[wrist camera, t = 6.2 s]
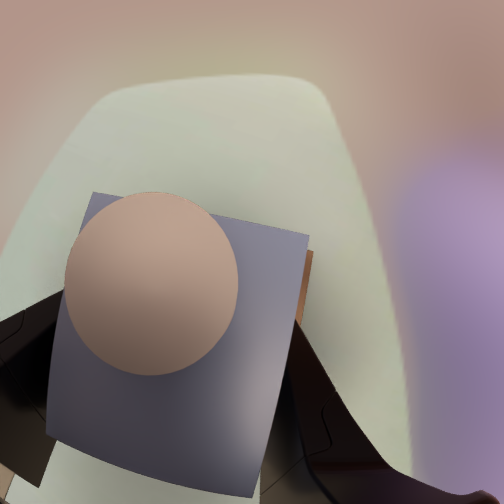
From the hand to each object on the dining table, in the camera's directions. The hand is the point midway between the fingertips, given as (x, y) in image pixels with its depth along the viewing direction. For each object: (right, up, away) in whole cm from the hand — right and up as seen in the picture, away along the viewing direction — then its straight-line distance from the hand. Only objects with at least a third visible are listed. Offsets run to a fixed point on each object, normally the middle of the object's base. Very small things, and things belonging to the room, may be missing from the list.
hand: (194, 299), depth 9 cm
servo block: (-1, -3, +6) cm, 7 cm away
